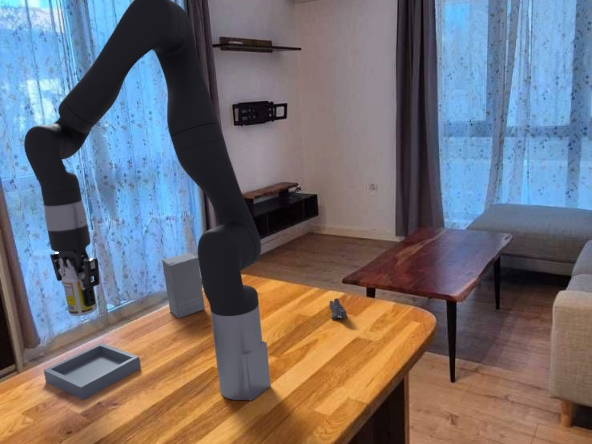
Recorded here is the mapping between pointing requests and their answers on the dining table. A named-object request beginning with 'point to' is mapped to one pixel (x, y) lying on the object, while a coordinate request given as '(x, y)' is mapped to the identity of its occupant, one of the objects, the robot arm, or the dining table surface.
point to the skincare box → (183, 284)
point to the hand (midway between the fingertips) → (81, 302)
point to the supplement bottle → (75, 295)
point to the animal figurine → (337, 309)
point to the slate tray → (92, 370)
